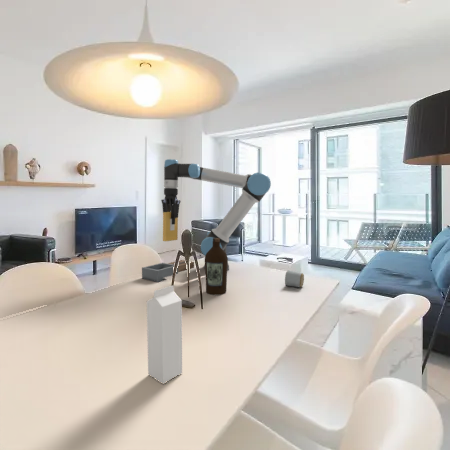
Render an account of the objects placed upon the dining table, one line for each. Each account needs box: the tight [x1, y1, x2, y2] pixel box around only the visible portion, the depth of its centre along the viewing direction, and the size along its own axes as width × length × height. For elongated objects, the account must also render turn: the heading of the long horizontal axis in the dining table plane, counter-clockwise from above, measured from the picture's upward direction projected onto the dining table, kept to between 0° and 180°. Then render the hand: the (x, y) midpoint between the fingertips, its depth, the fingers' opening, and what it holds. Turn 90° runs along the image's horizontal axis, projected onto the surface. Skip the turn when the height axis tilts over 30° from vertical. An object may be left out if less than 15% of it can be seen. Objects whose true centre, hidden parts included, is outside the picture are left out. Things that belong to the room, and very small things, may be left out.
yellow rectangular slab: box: [162, 211, 179, 242], centre depth 170 cm, size 2×9×16 cm, turn 143°
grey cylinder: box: [284, 269, 305, 288], centre depth 151 cm, size 11×8×8 cm
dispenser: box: [166, 259, 195, 273], centre depth 178 cm, size 10×14×6 cm
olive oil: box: [204, 238, 229, 296], centre depth 139 cm, size 11×11×25 cm
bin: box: [141, 262, 179, 283], centre depth 164 cm, size 12×15×6 cm
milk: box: [146, 285, 183, 383], centre depth 74 cm, size 6×6×22 cm
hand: (170, 229), depth 171 cm, fingers closed on yellow rectangular slab, 2 cm apart
